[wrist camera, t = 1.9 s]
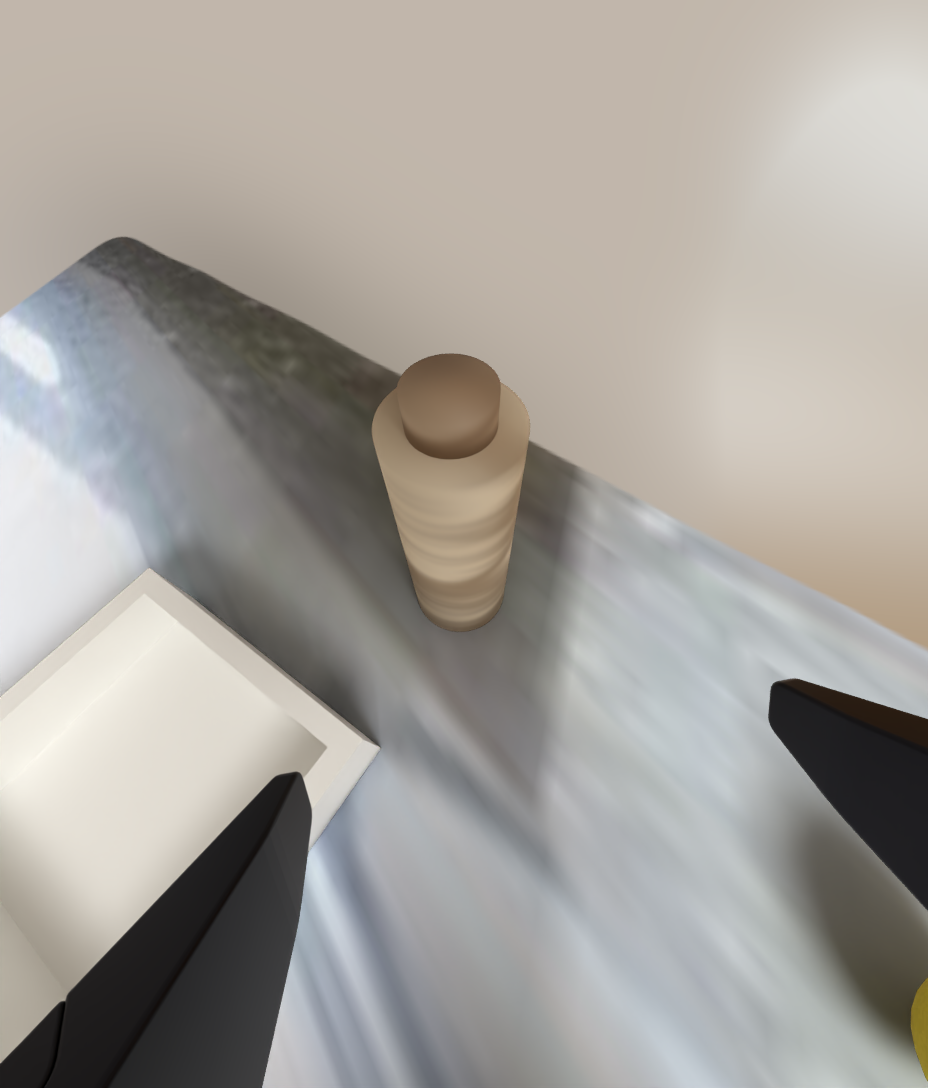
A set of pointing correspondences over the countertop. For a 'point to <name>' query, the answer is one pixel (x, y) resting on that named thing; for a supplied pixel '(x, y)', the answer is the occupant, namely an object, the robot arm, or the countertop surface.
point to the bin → (138, 778)
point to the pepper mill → (454, 482)
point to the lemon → (921, 1025)
